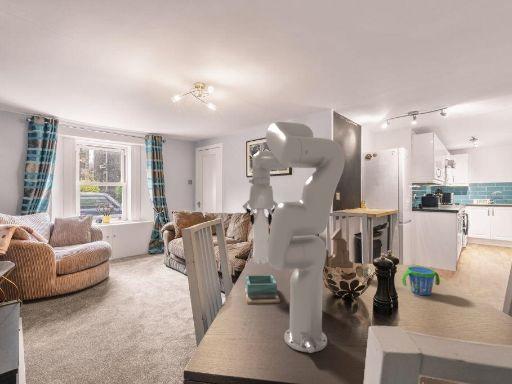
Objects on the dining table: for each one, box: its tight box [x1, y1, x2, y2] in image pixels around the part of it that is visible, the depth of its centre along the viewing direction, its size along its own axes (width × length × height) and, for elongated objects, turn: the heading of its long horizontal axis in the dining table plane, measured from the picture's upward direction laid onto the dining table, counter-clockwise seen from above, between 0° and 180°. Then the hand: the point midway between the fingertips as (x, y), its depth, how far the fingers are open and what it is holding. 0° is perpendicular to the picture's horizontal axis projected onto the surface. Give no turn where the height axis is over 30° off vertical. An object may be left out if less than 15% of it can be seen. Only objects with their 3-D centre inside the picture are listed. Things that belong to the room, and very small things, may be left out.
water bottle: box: [251, 209, 270, 265], centre depth 116 cm, size 7×7×25 cm
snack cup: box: [401, 266, 441, 296], centre depth 118 cm, size 16×10×10 cm
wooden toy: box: [324, 226, 354, 269], centre depth 144 cm, size 15×7×25 cm, turn 109°
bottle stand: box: [244, 274, 281, 305], centre depth 115 cm, size 16×13×6 cm
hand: (260, 223), depth 116 cm, fingers closed on water bottle, 6 cm apart
